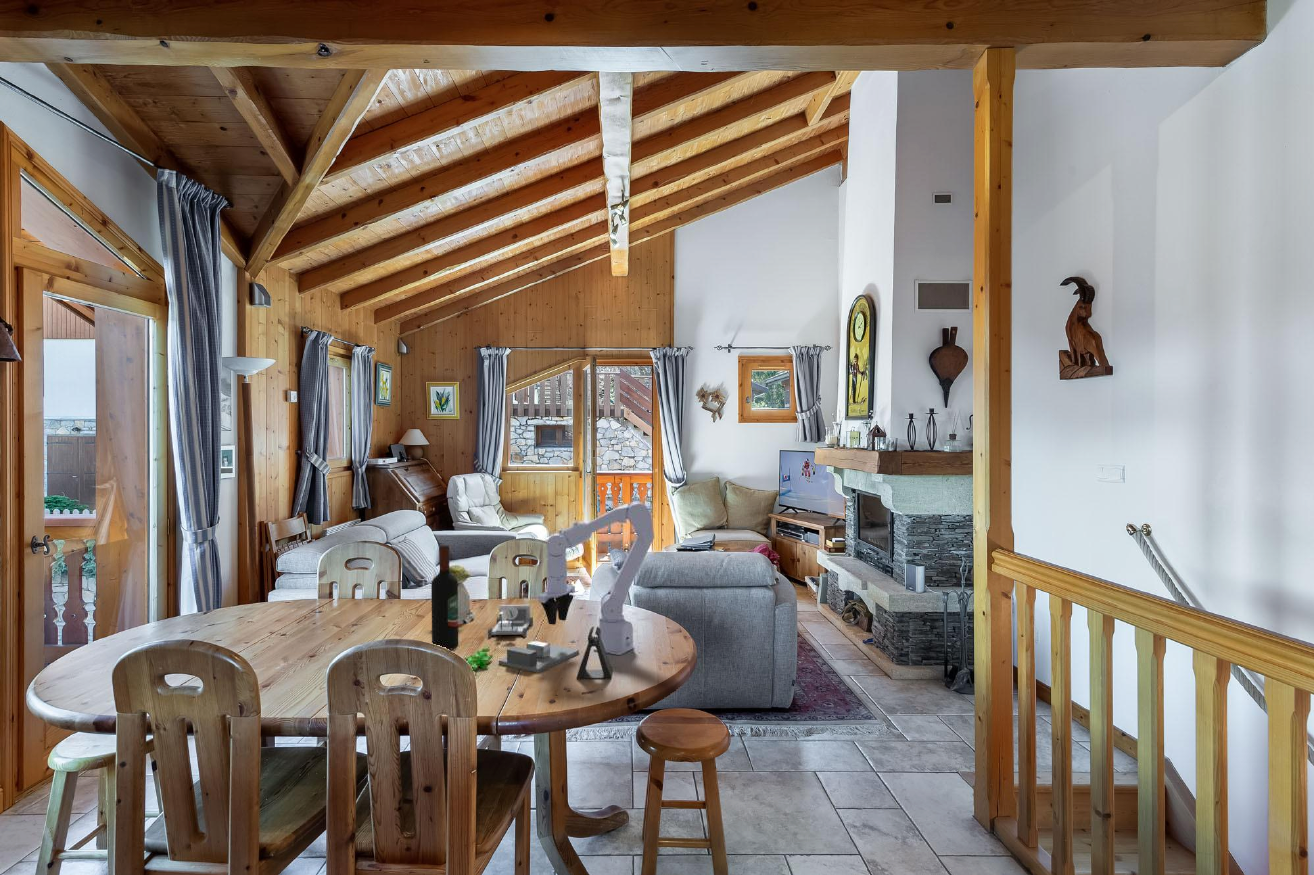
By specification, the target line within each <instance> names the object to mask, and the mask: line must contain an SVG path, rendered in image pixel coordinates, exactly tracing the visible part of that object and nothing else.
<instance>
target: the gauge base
mask: <svg viewBox="0 0 1314 875" xmlns="http://www.w3.org/2000/svg"><path fill="white" fill-rule="evenodd" d="M579 654H580V650H579V649H575V648H570V647H564V646H560V645H554V644H550V656H547V657H545V658H540V657H537V651H534V650H529V649H527V648H523V647H519V646H515V645H514V646H513V647H512V646H511V647H509V648H507V649H506V657H503V658H501V659H499V660H498V665H501V666H506V667H510V668H515V669H519V670H524V671H528V672H529V671H530V672H533V673H537V674H538V673H541V672H543V671H546V670H548V669H549V668H551V667H554V666H556V665H559V664H560V663H562V662H563V661H567V660H568V659H570V658H572V657H575V656H577V655H579Z"/></svg>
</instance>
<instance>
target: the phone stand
mask: <svg viewBox="0 0 1314 875" xmlns="http://www.w3.org/2000/svg"><path fill="white" fill-rule="evenodd" d="M594 628H595V627H594V626H591V628H590V630H589V633H588V636H587V646H586V648H585V651H584V654H583V656H582V659H581V662H580V665H579V669H578V671H577V675H576V680H611V679H612V675H613V667H612V665H611V662H610V659H609V656H608V653H606V651H605V648H604V645H603V643H602V640H601V630H600V628H599V626H596V628H595V633H594ZM593 633H594V634H595V635H596V636H593ZM593 647H594V648H595V647H596V649H597V651H596V653H597V655H598V659H599V662H600V666H601V669H587V665H588V662H589V657H590V653H591V649H592V648H593Z"/></svg>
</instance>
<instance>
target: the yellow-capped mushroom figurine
mask: <svg viewBox="0 0 1314 875" xmlns="http://www.w3.org/2000/svg"><path fill="white" fill-rule="evenodd" d="M449 570H450V573H451V574H452V575H454V576H455V577H456V579H457V580H458V626H459V625H461V624H462V625H463V624H464V622H466V623H470V622H471V621H472V620H473V617H474V615H475V614H476V613H475V612H473V611H471V609H470V608H471V605H470V604H471V603H470V593H469V591H468V589H467V588H466V586H465V584H464V583H465V582H466V581H467V580H468V579H469V578H470V576H471V574H470V573H469V571H467V570H466V569H465V568H464V566H462V565H449Z"/></svg>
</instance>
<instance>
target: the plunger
mask: <svg viewBox="0 0 1314 875" xmlns="http://www.w3.org/2000/svg"><path fill="white" fill-rule="evenodd" d="M550 645H551V643H547V642H543V641H538V640H537V641H536V640H532V641H529V642H527V643H526V649H529V650H534V651H537V657H540V658H545V657H547V656H550Z"/></svg>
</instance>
